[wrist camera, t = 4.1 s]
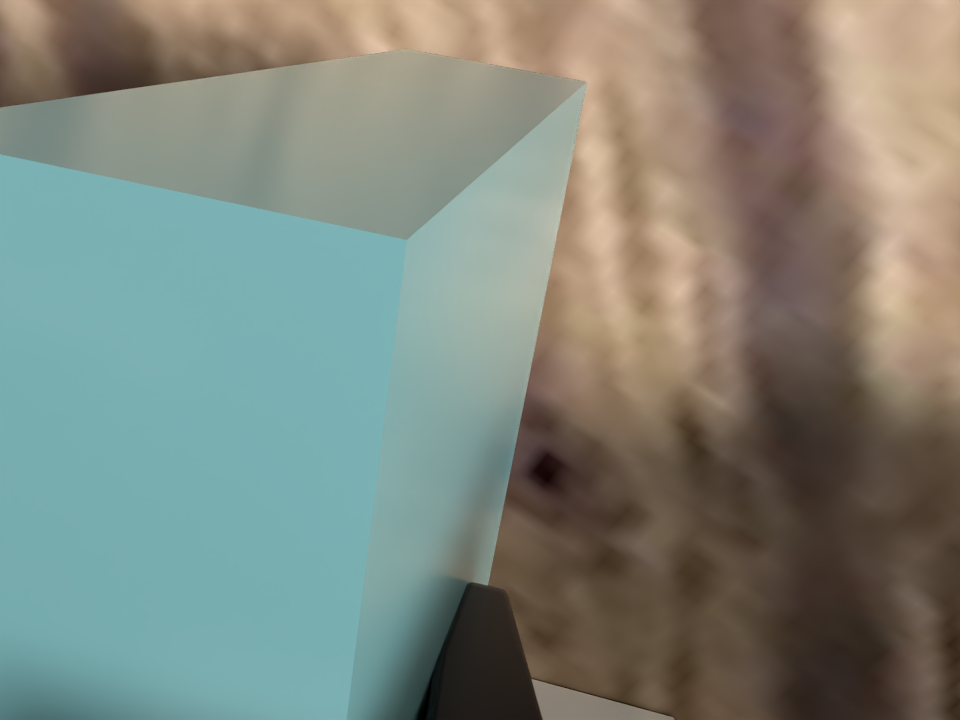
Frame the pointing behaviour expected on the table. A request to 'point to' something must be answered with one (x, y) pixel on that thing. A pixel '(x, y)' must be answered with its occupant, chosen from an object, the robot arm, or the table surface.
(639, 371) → the table surface
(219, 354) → the light blue block
